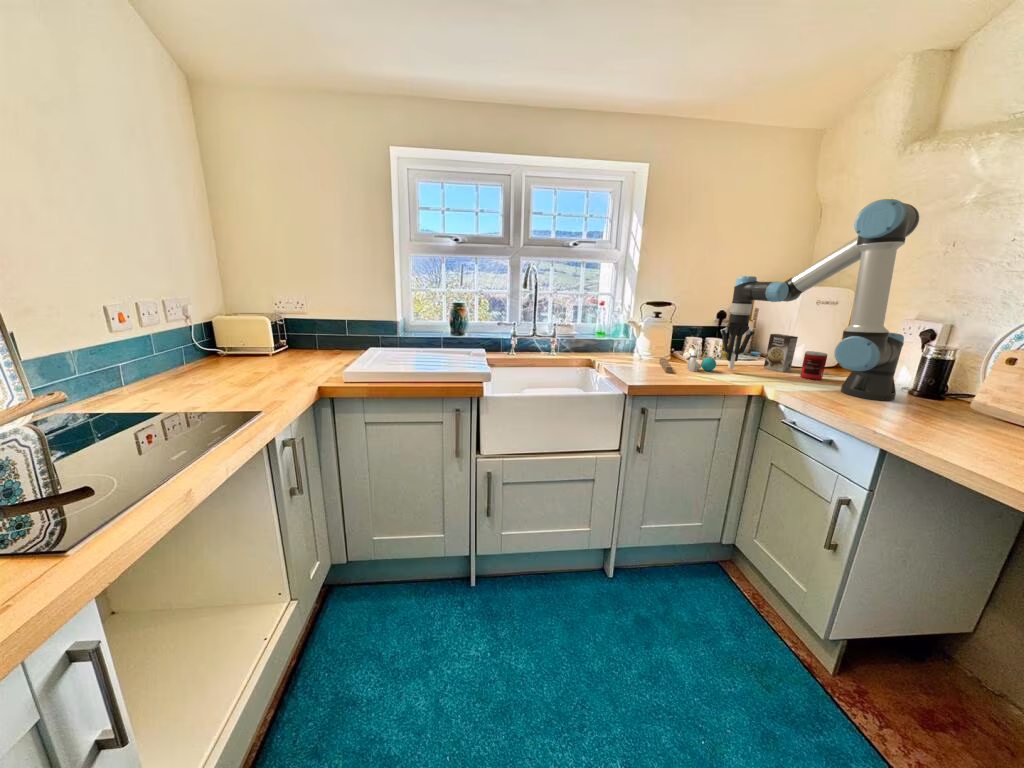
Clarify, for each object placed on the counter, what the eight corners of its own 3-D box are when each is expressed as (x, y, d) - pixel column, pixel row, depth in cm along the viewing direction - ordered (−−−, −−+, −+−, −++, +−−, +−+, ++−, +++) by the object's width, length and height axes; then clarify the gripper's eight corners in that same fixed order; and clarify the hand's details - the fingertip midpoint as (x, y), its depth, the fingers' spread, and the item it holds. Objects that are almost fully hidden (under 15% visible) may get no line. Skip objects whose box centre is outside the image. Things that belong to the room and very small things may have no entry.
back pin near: (695, 371, 179) (698, 351, 176) (689, 371, 179) (692, 350, 177) (694, 370, 181) (697, 350, 179) (688, 370, 181) (691, 350, 179)
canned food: (814, 376, 177) (820, 351, 175) (826, 381, 170) (832, 355, 167) (795, 375, 178) (801, 350, 175) (806, 380, 170) (812, 354, 168)
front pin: (701, 367, 180) (688, 352, 180) (697, 370, 181) (683, 356, 180) (700, 365, 182) (686, 351, 182) (695, 369, 183) (682, 355, 183)
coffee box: (762, 368, 191) (769, 333, 187) (771, 367, 194) (777, 333, 190) (782, 372, 183) (790, 336, 179) (791, 371, 186) (798, 336, 182)
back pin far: (692, 369, 183) (695, 349, 181) (686, 368, 184) (689, 349, 182) (691, 368, 186) (694, 348, 184) (685, 367, 186) (688, 348, 184)
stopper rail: (671, 373, 174) (672, 367, 173) (665, 372, 174) (666, 367, 174) (664, 363, 195) (665, 358, 194) (659, 362, 195) (659, 357, 195)
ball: (700, 363, 178) (706, 374, 179) (713, 356, 176) (720, 367, 177) (697, 360, 184) (703, 371, 185) (710, 353, 182) (716, 364, 183)
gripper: (753, 313, 175) (744, 367, 181) (721, 312, 178) (712, 365, 184) (760, 315, 168) (749, 371, 174) (725, 313, 170) (716, 369, 176)
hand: (730, 368), depth 179 cm, fingers closed
